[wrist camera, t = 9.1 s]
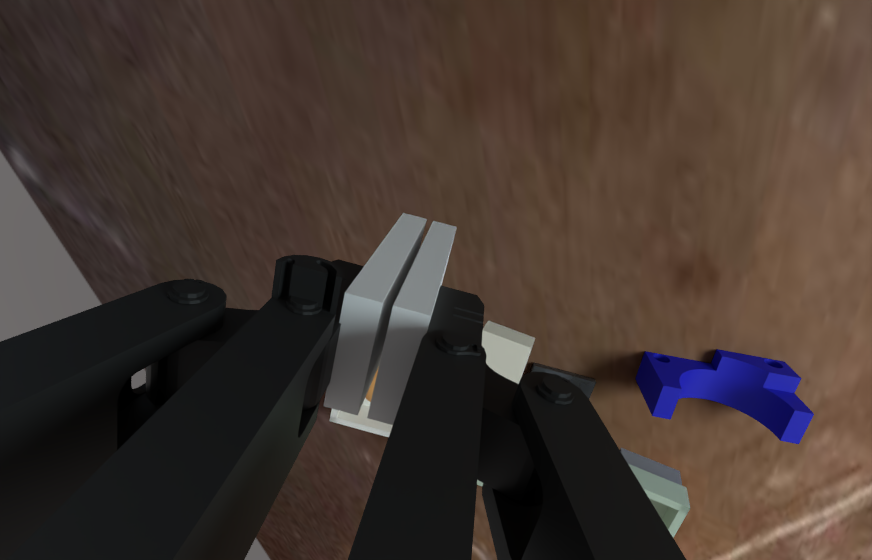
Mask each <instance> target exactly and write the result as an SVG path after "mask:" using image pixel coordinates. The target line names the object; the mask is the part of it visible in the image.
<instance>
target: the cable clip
mask: <svg viewBox="0 0 872 560" xmlns="http://www.w3.org/2000/svg"><path fill="white" fill-rule="evenodd" d="M635 379H636V381H637V384H638V386H639V388H640V390H641V392H642V394H643V397H644V399H645V401H646V403H647V405H648V408H649V410H650V412H651V414H652V416H655V417H661V418H666V419H671V417H672V414H673V411H674V409H675V406H676V404H677V401H678V399H680V398H702V399H707V400H711V401H715V402H719V403H722V404H725V405H727V406H730V407H732V408H735V409H737V410H739V411H741V412H743V413H745V414H747V415H749V416H751V417H752V418H754V419H755V420H757V421H759V422H760V423H761V424H763V425H764V426H766V427H767V428H768V429H769V430H770V431H772V432H773V433H774V434H775V435H776V436H777V437H778V438H779V440H780V441H785V442H791V443H796V444H799V443H800V441H801V439H802V437H803V435H804V433H805V431H806V429H807V427H808V425H809V423H810V421H811V419H812V417H813V415H814V414H813V413H812V411H811V410H810V409H809V408H808V407H807V406H806V405H805V404H804V403H803V402H802V401H801V400H800V399H799V398H798V397H797V396H796V395H795V394H794V393H795V390H796V388H797V386H798V384H799V382H800V380H801V378H800V377H799V376H798V375H797V374H796V373H795V372H794V371H793V370H792V369H791V368H790V367H789V366H788V365H787V364H786V363H785V362H783V361H778V360H772V359H767V358H761V357H756V356H750V355H745V354H740V353H734V352H729V351H723V350H718V349H717V350H716V352H715V355H714V357H713V360H712V362H711V363H705V362H700V361H695V360H689V359H684V358H678V357H673V356H668V355H662V354H657V353H651V352H646V351H645V352H644V355H643V358H642V361H641V364H640V367H639V370H638V373H637V376H636V378H635Z"/></svg>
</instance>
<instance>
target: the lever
mask: <svg viewBox="0 0 872 560" xmlns="http://www.w3.org/2000/svg"><path fill="white" fill-rule="evenodd" d="M534 341H535V338H534V337H531V336H529V335H526V334H523V333H521V332H518V331H515V330H512V329H510V328H507V327H504V326H502V325H499V324H496V323H493V322H491V321H488V322H487V323H486V325H485V327H484V328H483V332H482V347H483V348H484V349H485V352H486V355H487V356H486V364H487V365H488V366H489V367H490V368H491V369H492V370H494V371H495V372H496V373H498V374H500V375H501V376H503V377H505V378H507V379H509V380H511V381H513V382H515V383H518V384H519V382H520V379H521V377H522V374H523V372H524V369H525V366H526V363H527V360H528V358H529V355H530V352H531V349H532V346H533V343H534ZM620 451H621V453H622V455H623V456H624V458H625V460H626V461H627V463H628V465H629V466H630V468H631V470H632V471H633V473H634V475H635V476H636V478H637V479H638V481H639V483H640V484H641V486H642V488H643V489H644V491H645V493H646V494H647V496H648V498H649V499H650V501H651V502H652V504H653V506H654V507H655V509H656V511H657V512H658V514H659V516H660V517H661V519H662V521H663V522H664V524H665V525H666V527H667V529H668V530H669V532H670V534H671V535H672V537H673V538H674V536H675V534H676V532H677V531H678V529H679V527H680V525H681V523H682V522H683V520H684V518H685V516H686V515H687V513H688V511H689V509H690V504H689V499H688V493H687V488H686V487H684V486H682V482H681V476H680V471H678V470H675V469H673V468H670V467H668V466H665V465H663V464H660V463H658V462H655V461H653V460H651V459H648V458H646V457H643V456H641V455H638V454H636V453H633V452H631V451H628V450H626V449H623V448H621V449H620ZM477 485H480V486H483V483H482V482H480V481H479V480H477Z"/></svg>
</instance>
